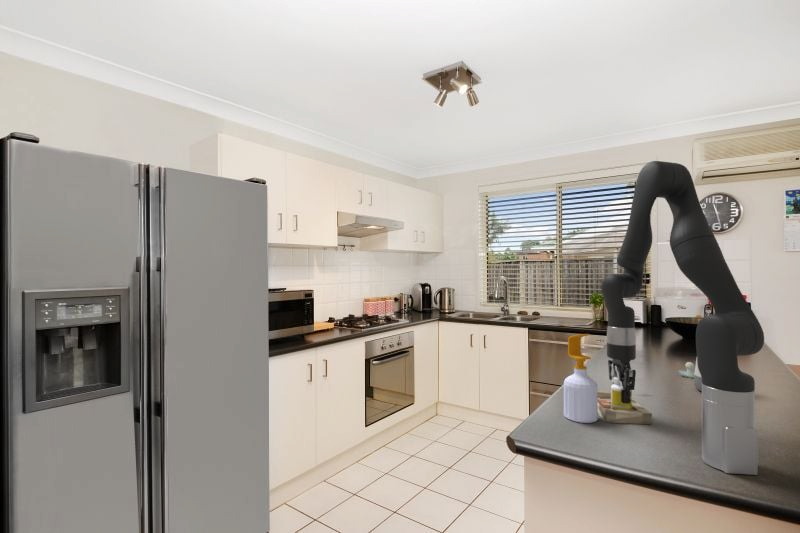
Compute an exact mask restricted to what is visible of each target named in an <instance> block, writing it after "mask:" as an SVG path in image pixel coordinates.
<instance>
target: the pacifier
mask: <svg viewBox="0 0 800 533" xmlns="http://www.w3.org/2000/svg"><path fill="white" fill-rule="evenodd" d="M685 368H686V371H684V370H680V369H679V370H678V372H679V374H681V376H682V377H684V378H687V377H688V378H689V379H694V373H695V372H694V370H695V365H694V363H693V362H691V361H688V362H686V363H685Z"/></svg>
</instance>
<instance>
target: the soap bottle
mask: <svg viewBox="0 0 800 533" xmlns="http://www.w3.org/2000/svg"><path fill="white" fill-rule="evenodd" d="M587 336H590V333H578V334H573V335H570V336H569V337H568V338H567V353H568V354H567V355H568V356H569V357H570V358H573V359H575V362H577V364H576V365H574V368H573V369H574V370H573V372H574V373H572V374H571V375H569V376H567V377H566V378H565V379H564V381H563V416H564V417H565V418H566V419H568V420H569V421H572V422H577V423H580V424H581V423H582V424H583V423H584V424H591V423H595V422H597V421H598V419H599V418H598V415H599V414H598V391H599V390H598V389H599V388H598V383H597V381H596V380H595V379H594V378H592V377H591V376H589V375H588V374H587V372H588V371H587V370H588V369H587V366H586V365H584V363H585V362H587V361H586V360H591V358H592V357H590V356H588V355H584V354H582V351H581V348H582V347H581V342H582V341H581V340H582V338H584V337H587Z"/></svg>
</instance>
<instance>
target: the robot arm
mask: <svg viewBox="0 0 800 533" xmlns="http://www.w3.org/2000/svg"><path fill="white" fill-rule="evenodd" d="M657 198H661V199H664V200H665V201H666V202H667V204H668V206H669V208H670V210H671V214H672V218H673V220H672V221H673V223H672V226H671V227H672V228H671V231H670V236H669V246H670V249H671V252H672V254H673V255H672V256H673V258H674V260H675V262H676V264H677V266H678V268H679V270H680V272H681V274H682V273H683V275H684V276H685V277H686V278H687V279H688V280H689V281H690V282H691V283H692V284H693V285H694V286H695V287H697V289H698V290H700V291H701V292H702V293H703V294H704V295H705V296H706V298H707V299H708V301H709V303H710V304H711V306H712V308H713V309H714V312H715V313H713V314H707V315H705V316H704V317H701V319H700V320H699V321H698V324H697V326H696V330H695V348H696V359H697V365H698V369H699V372H700V374H701V377H702V392H701V459H702V461H703V462H704V463H705V464H706V465H708V466H710V467H712V468H715V469H717V470H719V471H720V470H721V471H723V472H724V473H725V474H734V475H735V474H737V475H754V476H755V475H756V476H757V475H758V472H759V470H758V429H756V428H755V427H756V426H755V424H756V421H755V416H756V415H755V413H756V412H755V411H756V410H755V409H756V406H755V405H756V404H755V403H756V401H755V400H756V399H755V397H756V390H755V388H756V386H755V382H756V380H755V379H754V377H753V376H752V375H751V374H748V373H747V372H743V371H742V370H740V368H739V361H738V357H739V356H740V357H741V356H743V357H744V356H751V355H755V354H757V353H759V352H760V351H761V350H762V349H763V346H764V344H765V335H764V334H765V333H764V331H763V330H764V329H763V327H762V325H761V323H760V321H759V320H758V318H757V316H756V314H755V312H754V311H753V309H752V307H751V306H750V305H749V303H748V302H747V299H745V297H744V295H743V293H742V291H741V290H740V288H739V286H738V284H737V282H736V279H735V277H734V276H733V274H732V271H731V270H730V268H729V267H730V266H728V263H727V261H726V259H725V257H724V254H723V251H722V248H721V247H720V245H719V242H718V241H717V238H716V237H715V234H714V233H713V229H711V227H710V224H709V222H708V220H707V217H706V215H705V212H704V210H703V208H702V205H701V203H700V200H699V197H698V194H697V190H696V187H695V184H694V181H693V178H692V174H691V173H690V171H689V169H688V167H686V166H685V165H684V164H681V163H677V162H670V161H669V162H668V161H659V160H652V161H649V162H647V163H646V164H645V165H643V167H642V168H641V169H640V171H639V173H638V175H637V178H636V182H635V186H634V192H633V198H632V204H631V207H630V208H631V209H630V215H629V219H628V225H627V229H626V232H625V236H624V239H623V241H622V244H621V247H620V249H619V252H618V256H617V259H616V263H617V265H618V266H619V267H620V268H623V272H622V273H611V274H608V275H606V276H605V277H604V278H603V280H602V282H601V293H602V297H603V301H604V305H605V308H606V310H607V329H606V357H607V358H609V359H608V360H607V364H608V365H607V366H608V378H609V381H610V382H611V385H613V384H614V377H618V381H619V382H620V385H621V402H622V403H626V404H629V403H630V390H632V391H635V386H636V375H637V372H636V369H632V367H631V361H634V360H636V358H637V357H636V356H637V353H636V352H637V346H636V345H637V339H636V338H637V336H636V328H635V327H636V325H635V324H636V323H635V322H636V321H635V320H636V316H635V310H634V308H633V307H630V306H627V305H626V303H625V301H624V299H626V298H627V299H630V298H634V297H636V296H637V295H638V294H639V293H640V291H641V289H642V287H643V283H644V282H643V280H644V268H645V267H644V266H645V264H646V261H647V258H648V256H649V253H650V252H651V247H652V245H653V231H652V230H653V229H652V223H651V221H652V220H651V215H652V210H653V206H654V203H655V202H656V200H657ZM622 378H624V379H622ZM623 382H624V383H623ZM627 384H628V385H627Z"/></svg>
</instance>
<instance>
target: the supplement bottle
mask: <svg viewBox="0 0 800 533" xmlns="http://www.w3.org/2000/svg"><path fill="white" fill-rule="evenodd" d="M622 379H624V378H622ZM623 383H624V382H623ZM627 385H628V384H627ZM610 391H611V408H612V409H613V410H632V400H633V398H632V395H633V394H632V393H633V392H632V391H633V390H630V403H629V404H626V403H622V402H621V385H620V382H619V381H618V377H614V384H611V386H610Z"/></svg>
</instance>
